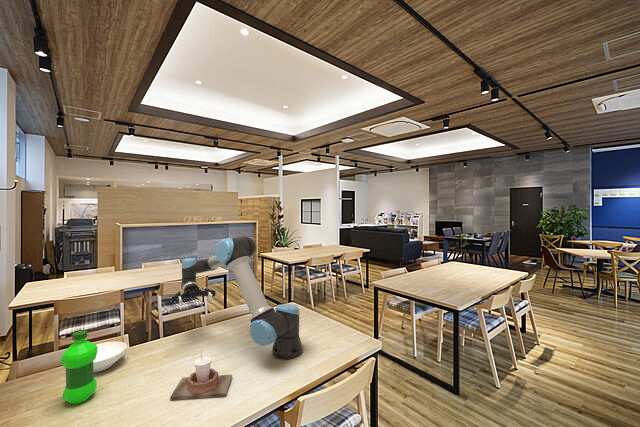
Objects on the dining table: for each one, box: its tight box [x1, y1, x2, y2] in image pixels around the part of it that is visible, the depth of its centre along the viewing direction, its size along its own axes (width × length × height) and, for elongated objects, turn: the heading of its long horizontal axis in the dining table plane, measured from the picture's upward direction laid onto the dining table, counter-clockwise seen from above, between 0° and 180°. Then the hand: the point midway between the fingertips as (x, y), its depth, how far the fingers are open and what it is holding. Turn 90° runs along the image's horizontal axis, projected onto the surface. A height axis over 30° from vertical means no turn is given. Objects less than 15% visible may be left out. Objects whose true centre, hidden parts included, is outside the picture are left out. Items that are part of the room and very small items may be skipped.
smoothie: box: [193, 349, 212, 383], centre depth 111 cm, size 6×6×14 cm
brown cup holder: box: [169, 368, 233, 402], centre depth 111 cm, size 20×12×5 cm, turn 97°
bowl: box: [93, 341, 128, 373], centre depth 126 cm, size 20×20×7 cm
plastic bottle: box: [60, 329, 98, 405], centre depth 104 cm, size 10×10×25 cm
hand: (196, 300), depth 134 cm, fingers open, 13 cm apart
